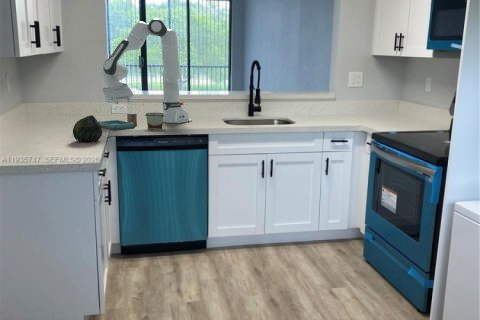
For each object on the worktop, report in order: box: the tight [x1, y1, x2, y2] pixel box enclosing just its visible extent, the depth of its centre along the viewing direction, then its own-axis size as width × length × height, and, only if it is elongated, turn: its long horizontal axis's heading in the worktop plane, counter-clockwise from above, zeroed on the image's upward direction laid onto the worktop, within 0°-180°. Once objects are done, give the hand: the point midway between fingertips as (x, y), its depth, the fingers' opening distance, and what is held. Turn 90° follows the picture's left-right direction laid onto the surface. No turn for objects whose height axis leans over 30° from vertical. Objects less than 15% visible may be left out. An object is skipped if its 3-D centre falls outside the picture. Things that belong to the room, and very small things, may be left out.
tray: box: [98, 119, 135, 131], centre depth 300 cm, size 14×20×3 cm
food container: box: [145, 111, 164, 130], centre depth 299 cm, size 12×6×10 cm, turn 84°
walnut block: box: [126, 112, 138, 127], centre depth 308 cm, size 4×4×8 cm
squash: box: [72, 115, 103, 142], centre depth 250 cm, size 14×15×15 cm
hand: (123, 103), depth 313 cm, fingers open, 8 cm apart
